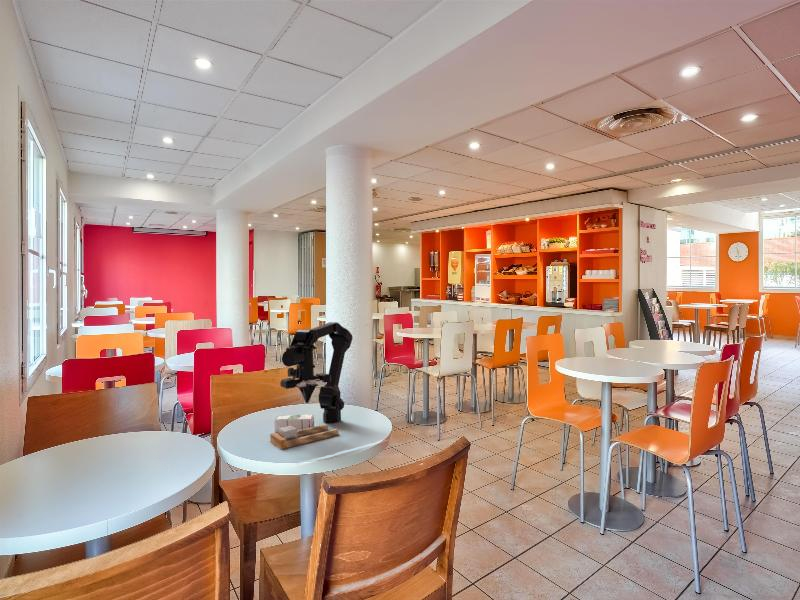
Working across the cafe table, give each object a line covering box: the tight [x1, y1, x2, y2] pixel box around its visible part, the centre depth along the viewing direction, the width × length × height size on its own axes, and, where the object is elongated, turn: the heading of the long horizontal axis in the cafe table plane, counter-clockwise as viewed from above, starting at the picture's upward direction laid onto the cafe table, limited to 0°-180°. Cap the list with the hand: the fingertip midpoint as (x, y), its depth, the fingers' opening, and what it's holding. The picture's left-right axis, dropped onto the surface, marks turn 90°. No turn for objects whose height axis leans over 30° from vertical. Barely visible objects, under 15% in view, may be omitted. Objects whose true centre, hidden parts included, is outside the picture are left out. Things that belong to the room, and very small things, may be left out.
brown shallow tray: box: [269, 423, 341, 451], centre depth 168 cm, size 23×12×4 cm, turn 128°
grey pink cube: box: [277, 426, 298, 441], centre depth 164 cm, size 5×5×5 cm
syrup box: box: [274, 414, 315, 433], centre depth 179 cm, size 6×6×14 cm
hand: (306, 402), depth 174 cm, fingers closed
